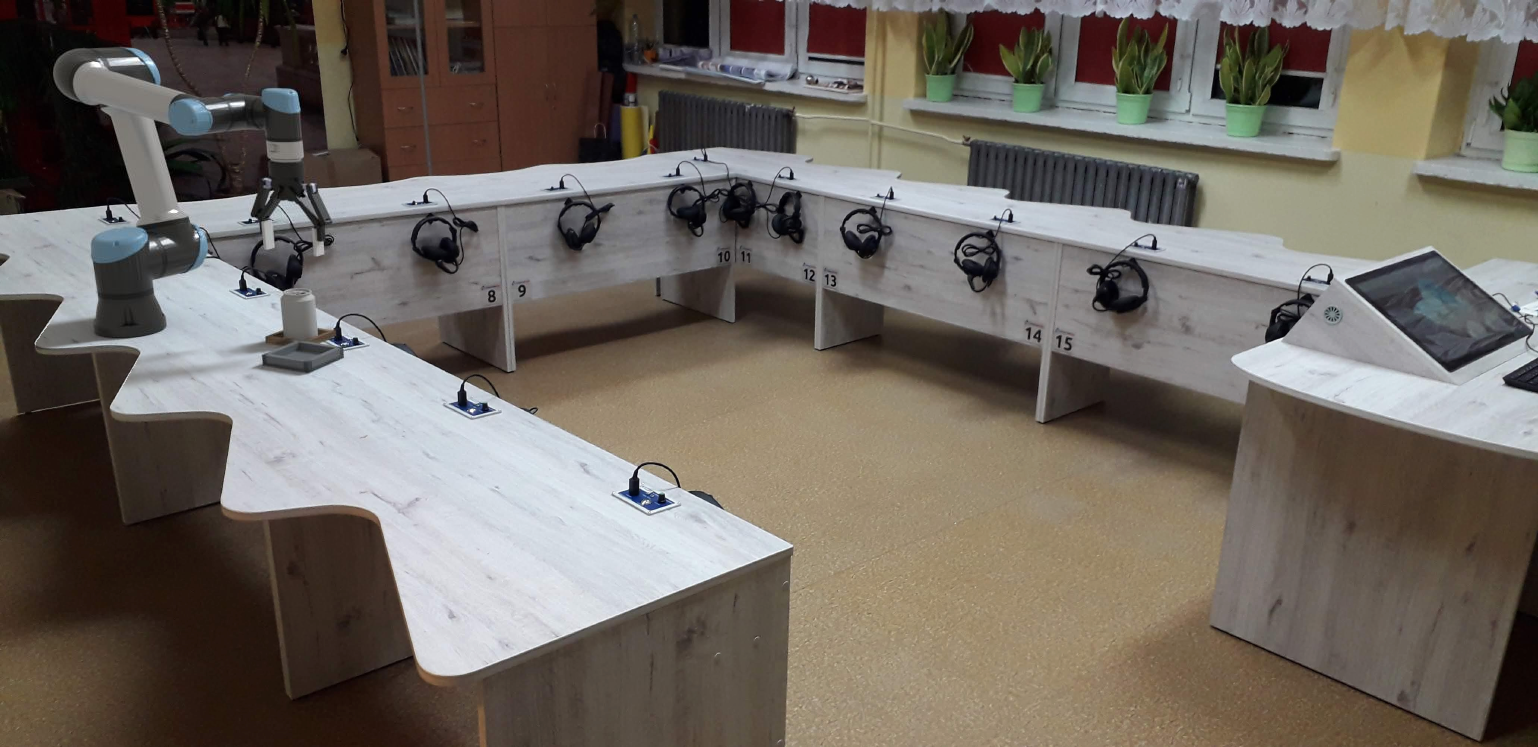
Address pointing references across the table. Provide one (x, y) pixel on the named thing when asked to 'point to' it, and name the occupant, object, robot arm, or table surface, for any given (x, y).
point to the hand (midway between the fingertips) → (294, 252)
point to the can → (299, 314)
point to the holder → (280, 340)
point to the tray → (303, 356)
